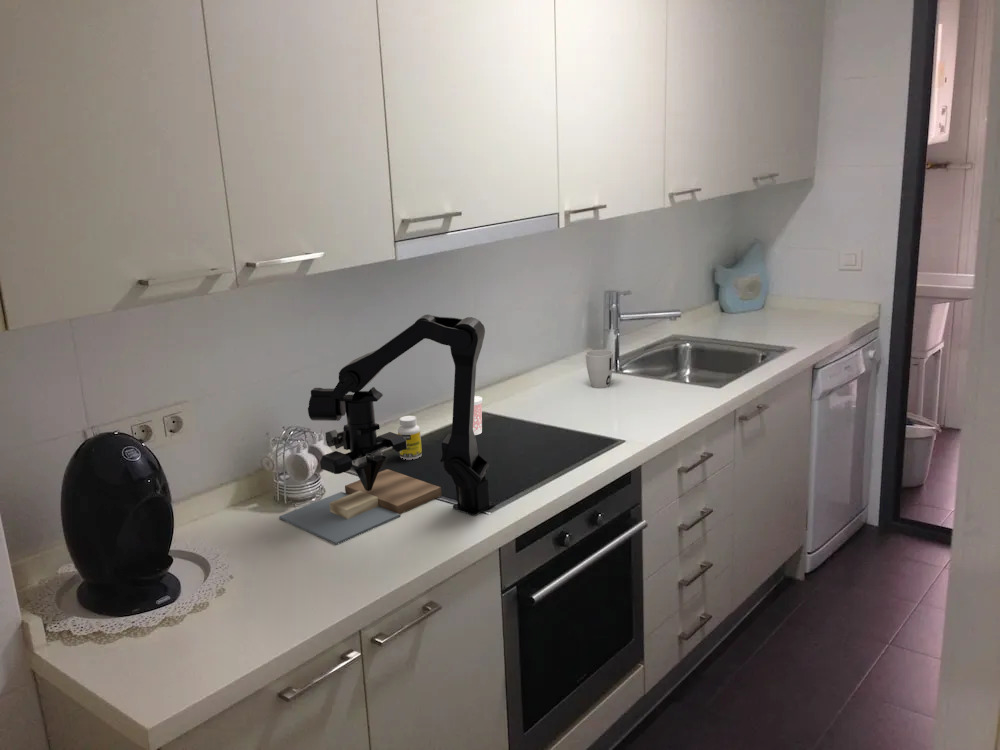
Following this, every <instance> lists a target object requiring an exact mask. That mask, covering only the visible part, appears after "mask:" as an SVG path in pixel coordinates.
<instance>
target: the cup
mask: <svg viewBox="0 0 1000 750" xmlns="http://www.w3.org/2000/svg"><path fill="white" fill-rule="evenodd" d="M585 363H586V370H587V371H586V372H587V374H588V378H589V382H590V385H591V387H592V388H595V389H604V388H608V387H610V383H611V379H612V375H613V368H614V351H612V350H610V349H609V350H608V349H592V350H588V351H587V352H585Z"/></svg>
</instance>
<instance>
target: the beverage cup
mask: <svg viewBox="0 0 1000 750" xmlns="http://www.w3.org/2000/svg"><path fill="white" fill-rule="evenodd" d="M482 407H483V396H478V395H475V397H474V415H473V432H474V435H475V436H477V435H480V434H482V432H483V419H482V418H483V417H482V415H483V413H482V411H483V410H482V409H483V408H482Z"/></svg>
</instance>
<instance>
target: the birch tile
mask: <svg viewBox="0 0 1000 750" xmlns="http://www.w3.org/2000/svg"><path fill="white" fill-rule="evenodd" d="M329 504H330V512H332V513H335V514H337V515H339V516H342V517H344V518H347V519H349V518H352V517H354V516H356V515H359V514H361V513H363V512H366V511H368V510H370V509H373V508H375V507H377V506H379V505H378V497H376V496H373V495H371V494H368V493H365V492H363V491H358V492H355V493H353V494H350V495H348V496H345V497H343V498H340V499H338V500H335V501H333V502H330V503H329Z"/></svg>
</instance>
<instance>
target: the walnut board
mask: <svg viewBox="0 0 1000 750" xmlns="http://www.w3.org/2000/svg"><path fill="white" fill-rule="evenodd" d="M358 491H363V492H365V493H368V494H371V495H373V496H376V497H378V505H379V506H380V507H383V508H385V509H388V510H390V511H393V512H395V513H398V514H400V515H401V514H403V513H406V512H408V511H410V510H413V509H415V508H417V507H420V506H422V505H423V504H424V505H425V504H427V503H429V502H431V501H434V500H435V499H438V498H439V496H440V497H441V496H442V488H441V486H438V485H435V484H432V483H429V482H426V481H424V480H422V479H418V478H415V477H411V476H408V475H406V474H403V473H400V472H397V471H394V470H391V469H388V468H387V469H383V470H381V471H379V472H378V474H377V477H376V479H375V482H374V484H373V487H372V490H370V491H366V490H365V488H364V486H363V484H362V482H361V480H360V479H359V480H357V481H353V482H351V483H349V484H346V485H344V493H347V494H349V495H350V494H353V493H355V492H358ZM437 497H438V498H437Z"/></svg>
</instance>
